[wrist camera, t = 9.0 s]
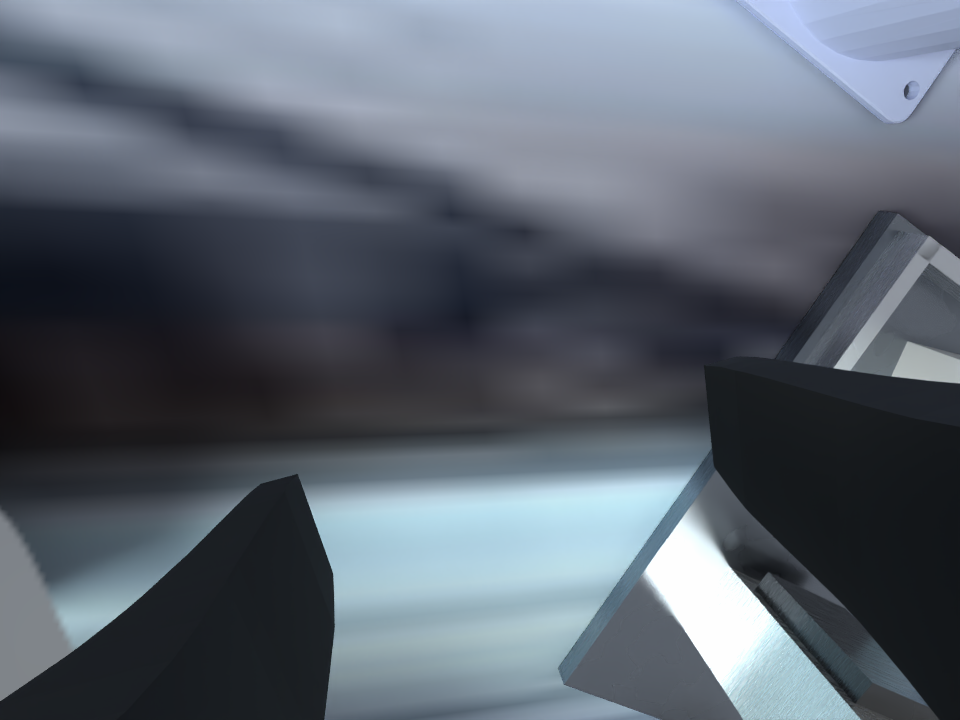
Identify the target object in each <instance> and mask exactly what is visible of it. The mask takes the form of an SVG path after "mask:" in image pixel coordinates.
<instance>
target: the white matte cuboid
mask: <svg viewBox="0 0 960 720" xmlns="http://www.w3.org/2000/svg"><path fill="white" fill-rule="evenodd" d="M892 377H901V378H910V379H919V380H927V381H937V382H949V383H960V355H959V354H955V353H951V352H947V351H943V350H940V349H936V348H932V347H928V346H924V345H920V344H916V343H912V342H909V341H907V344H906V346H905V348H904V350H903V352H902V354H901V356H900V359H899V361H898V363H897V365H896V367H895V369H894V371H893V374H892Z"/></svg>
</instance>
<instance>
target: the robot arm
mask: <svg viewBox="0 0 960 720" xmlns="http://www.w3.org/2000/svg"><path fill="white" fill-rule="evenodd" d="M735 1H737V2H738V3H739V4H740V5H741V6H743V7H744V8H745V9H746V10H748V11H749V12H750V13H751V14H752V15H754V16H755V17H756V18H757V19H758V20H760V21H761V22H762V23H763V24H765V25H766V26H767V27H768V28H769V29H771V30H772V31H773V32H774V33H775V34H777V35H778V36H779V37H780V38H782V39H783V40H784V41H785V42H786V43H788V44H789V45H790V46H791V47H792V48H794V49H795V50H796V51H797V52H799V53H800V54H801V55H802V56H803V57H805V58H806V59H807V60H808V61H809V62H811V63H812V64H813V65H814V66H815V67H817V68H818V69H819V70H820V71H822V72H823V73H824V74H825V75H826V76H828V77H829V78H830V79H831V80H832V81H834V82H835V83H836V84H837V85H839V86H840V87H841V88H842V89H843V90H845V91H846V92H847V93H848V94H849V95H851V96H852V97H853V98H854V99H856V100H857V101H858V102H859V103H860V104H862V105H863V106H864V107H865V108H866V109H868V110H869V111H870V112H871V113H873V114H874V115H875V116H876V117H877V118H879V119H880V120H881V121H882V122H885V123H887V124H889V123H901V122H903V121H905V120H906V119H907V118H908V117H909V116H910V115H911V114H912V112H913V111H914V109H915V108H916V106H917V105H918V104H919V102H920V101H921V99H922V98H923V96H924V95H925V93H926V92H927V90H928V89H929V88H930V86H931V85H932V83H933V82H934V80H935V79H936V77H937V76H938V75H939V73H940V72H941V70H942V69H943V67H944V66H945V64H946V63H947V61H948V60H949V59H950V57H951V56H952V54H953V53H954V51H955V50H956V48H960V0H735ZM907 84H908V86H909V93H908V95H907V97H906V98H905V96H904V88H905V86H906V85H907ZM704 369H705V380H706V390H707V401H708V411H709V422H710V432H711V442H712V453H713V463H714V467H715V469H716V470H717V472H718V473H719V474H720V476H721V477H722V479H723V480H724V481H725V483H726V484H727V485H728V487H729V488H730V490H731V491H732V492H733V493H734V495H735V496H736V497H737V498H738V500H739V501H740V502H741V504H742V505H743V506H744V507H745V509H746V510H747V511H748V512H749V513H750V514H751V515H752V516H753V517H754V518H755V519H756V520H757V521H758V522H759V523H760V524H761V525H762V526H763V527H764V528H765V529H766V530H767V531H768V532H769V533H770V534H771V535H772V536H773V537H774V538H775V539H776V540H777V541H778V542H779V543H780V544H781V545H782V546H783V547H784V548H785V549H787V550H788V551H789V552H790V553H791V554H792V555H793V556H794V557H795V558H796V559H797V560H798V561H799V562H800V563H801V564H802V565H803V566H804V567H805V568H806V569H807V570H808V571H809V572H810V573H811V574H812V575H813V576H814V577H815V578H816V579H817V580H818V581H819V582H820V583H821V584H822V585H824V586H825V587H826V588H827V589H828V590H829V591H830V592H831V593H832V594H833V595H834V596H835V597H836V598H837V599H838V600H839V601H840V602H841V603H842V604H843V605H844V606H845V607H846V608H847V610H848V611H849V612H850V613H851V614H852V615H853V616H854V617H855V618H856V619H857V620H858V621H859V622H860V623H861V624H862V626H863V627H864V628H865V629H866V630H867V632H868V633H869V634H870V635H871V636H872V638H873V639H874V640H875V641H876V642H877V644H878V645H879V646H880V647H881V648H882V649H883V651H884V652H885V653H886V654H887V655H888V657H889V658H890V659H891V660H892V661H893V663H894V664H895V665H896V666H897V667H898V669H899V670H900V671H901V672H902V673H903V675H904V676H905V677H906V678H907V679H908V681H909V682H910V683H911V685H912V686H913V687H914V688H915V690H916V691H917V692H918V693H919V695H920V696H921V697H922V698H923V700H924V701H925V702H926V704H927V705H928V706H929V707H930V709H931V710H932V711H933V712H934V714H935V715H936V716H937V717H938V719H939V720H960V383H949V382H937V381H927V380H919V379H910V378H901V377H892V376H884V375H877V374H870V373H862V372H856V371H849V370H842V369H836V368H829V367H823V366H816V365H810V364H803V363H797V362H790V361H783V360H776V359H768V358H758V357H734V358H730V359H727V360H723V361H719V362H715V363H712V364H708V365H704ZM334 627H335V624H334V583H333V572H332V569H331V566H330V563H329V561H328V558H327V555H326V552H325V549H324V547H323V544H322V541H321V538H320V535H319V533H318V530H317V527H316V524H315V521H314V519H313V516H312V513H311V510H310V507H309V505H308V502H307V499H306V496H305V493H304V491H303V488H302V485H301V482H300V479H299V476H298V474H296V475H292V476H288V477H285V478H281V479H277V480H273V481H270V482H266V483H262V484H260V485H259V486H258V487H256V488H255V489H254V490H253V491H251V492H250V493H249V494H248V495H247V496H246V497H245V498H244V499H243V500H242V501H241V502H240V503H239V504H238V505H237V506H236V507H235V508H234V509H233V510H232V511H231V512H230V513H229V514H228V515H227V516H226V517H225V518H224V519H223V520H222V521H221V522H220V523H219V524H218V525H217V526H216V527H215V528H214V529H213V530H212V531H211V532H210V533H209V534H208V535H207V536H206V537H205V538H204V539H203V540H202V541H201V542H200V543H199V544H198V545H197V546H196V547H195V548H194V549H193V550H192V551H191V552H190V553H189V554H188V555H186V556H185V557H184V558H183V559H182V560H181V561H180V562H179V563H178V564H177V565H176V566H174V567H173V568H172V569H171V570H170V571H169V572H168V573H167V574H166V575H165V576H164V577H163V578H161V579H160V580H159V581H158V582H157V583H156V584H155V585H154V586H153V587H152V588H151V589H149V590H148V591H147V592H146V593H145V594H144V595H143V596H142V597H141V598H139V599H138V600H137V601H136V602H135V603H134V604H132V605H131V606H130V607H129V608H128V609H126V610H125V611H124V612H123V613H122V614H120V615H119V616H118V617H117V618H116V619H114V620H113V621H112V622H111V623H109V624H108V625H107V626H105V627H104V628H103V629H102V630H100V631H99V632H98V633H96V634H95V635H94V636H92V637H91V638H90V639H89V640H87V641H86V642H85V643H83V644H82V645H81V646H80V647H78V648H77V649H75V650H74V651H73V652H71V653H70V654H69V655H67V656H66V657H65V658H63V659H62V660H60V661H59V662H57V663H56V664H54V665H53V666H51V667H50V668H48V669H47V670H46V671H44V672H43V673H41V674H40V675H38V676H37V677H35V678H34V679H32V680H31V681H29V682H28V683H27V684H25V685H24V686H22V687H21V688H19V689H18V690H16V691H15V692H13V693H12V694H10V695H9V696H8V697H6V698H5V699H3V700H2V701H0V720H324V716H325V708H326V699H327V691H328V683H329V674H330V665H331V656H332V647H333V638H334Z"/></svg>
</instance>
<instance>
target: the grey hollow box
mask: <svg viewBox="0 0 960 720" xmlns="http://www.w3.org/2000/svg"><path fill="white" fill-rule="evenodd" d="M907 341H909V342H912V343H916V344H920V345H924V346H928V347H932V348H936V349H940V350H943V351H947V352H951V353H955V354H959V355H960V259H959V258H958V257H956V256H955V255H954V254H952V253H951V252H950V251H948V250H947V249H946V248H945V247H943V246H942V245H941V244H939V243H938V242H937V241H935V240H934V239H933V238H932V237H930V236H928V235H925V234H924V233H923V232H921V231H920V230H919V229H918V228H916V227H915V226H914V225H912V224H911V223H910V222H908V221H907V220H906V219H905V218H903V217H902V216H901V215H899V214H898V213H891V212H883V211H879V212H878V213H877V214H876V216H875V217H874V219H873V220H872V222H871V223H870V224H869V226H868V227H867V229H866V230H865V232H864V233H863V234H862V236H861V237H860V239H859V240H858V242H857V243H856V244H855V246H854V247H853V249H852V250H851V252H850V253H849V254H848V256H847V257H846V259H845V260H844V261H843V263H842V264H841V266H840V267H839V269H838V270H837V271H836V273H835V274H834V276H833V277H832V279H831V280H830V281H829V283H828V284H827V286H826V287H825V289H824V290H823V291H822V293H821V294H820V296H819V297H818V299H817V300H816V301H815V303H814V304H813V306H812V307H811V309H810V310H809V311H808V313H807V314H806V316H805V317H804V319H803V320H802V321H801V323H800V324H799V326H798V327H797V329H796V330H795V331H794V333H793V334H792V336H791V337H790V339H789V340H788V341H787V343H786V344H785V346H784V347H783V348H782V350H781V351H780V353H779V354H778V356H777V357H776V358H775V359H776V360H783V361H790V362H797V363H803V364H810V365H816V366H823V367H829V368H836V369H842V370H849V371H856V372H862V373H870V374H877V375H884V376H892V374H893V371H894V369H895V367H896V365H897V363H898V361H899V359H900V356H901V354H902V352H903V350H904V348H905V346H906V344H907ZM558 669H559V672H560V675H561V678H562V680H563V683H564V685H566V686H569V687H572V688H575V689H578V690H580V691H583V692H586V693H589V694H592V695H594V696H597V697H600V698H603V699H606V700H608V701H611V702H614V703H617V704H620V705H622V706H625V707H628V708H631V709H634V710H636V711H639V712H642V713H645V714H648V715H650V716H653V717H656V718H659V719H662V720H939V719H938V717H937V716H936V715H935V714H934V712H933V711H932V710H931V709H930V707H929V706H928V705H927V704H926V702H925V701H924V700H923V698H922V697H921V696H920V695H919V693H918V692H917V691H916V690H915V688H914V687H913V686H912V685H911V683H910V682H909V681H908V679H907V678H906V677H905V676H904V675H903V673H902V672H901V671H900V670H899V669H898V667H897V666H896V665H895V664H894V663H893V661H892V660H891V659H890V658H889V657H888V655H887V654H886V653H885V652H884V651H883V649H882V648H881V647H880V646H879V645H878V644H877V642H876V641H875V640H874V639H873V638H872V636H871V635H870V634H869V633H868V632H867V630H866V629H865V628H864V627H863V626H862V624H861V623H860V622H859V621H858V620H857V619H856V618H855V617H854V616H853V615H852V614H851V613H850V612H849V611H848V610H847V608H846V607H845V606H844V605H843V604H842V603H841V602H840V601H839V600H838V599H837V598H836V597H835V596H834V595H833V594H832V593H831V592H830V591H829V590H828V589H827V588H826V587H825V586H824V585H822V584H821V583H820V582H819V581H818V580H817V579H816V578H815V577H814V576H813V575H812V574H811V573H810V572H809V571H808V570H807V569H806V568H805V567H804V566H803V565H802V564H801V563H800V562H799V561H798V560H797V559H796V558H795V557H794V556H793V555H792V554H791V553H790V552H789V551H788V550H787V549H785V548H784V547H783V546H782V545H781V544H780V543H779V542H778V541H777V540H776V539H775V538H774V537H773V536H772V535H771V534H770V533H769V532H768V531H767V530H766V529H765V528H764V527H763V526H762V525H761V524H760V523H759V522H758V521H757V520H756V519H755V518H754V517H753V516H752V515H751V514H750V513H749V512H748V511H747V510H746V509H745V507H744V506H743V505H742V504H741V502H740V501H739V500H738V498H737V497H736V496H735V495H734V493H733V492H732V491H731V490H730V488H729V487H728V485H727V484H726V483H725V481H724V480H723V479H722V477H721V476H720V474H719V473H718V472H717V470H716V469H715V467H714V463H713V453H712V450H711V451H710V453H709V454H708V455H707V457H706V458H705V460H704V461H703V463H702V464H701V465H700V467H699V468H698V470H697V471H696V473H695V474H694V475H693V477H692V478H691V480H690V481H689V483H688V484H687V485H686V487H685V488H684V490H683V491H682V493H681V494H680V495H679V497H678V498H677V500H676V501H675V503H674V504H673V505H672V507H671V508H670V510H669V511H668V512H667V514H666V515H665V517H664V518H663V520H662V521H661V522H660V524H659V525H658V527H657V528H656V530H655V531H654V532H653V534H652V535H651V537H650V538H649V540H648V541H647V542H646V544H645V545H644V547H643V548H642V550H641V551H640V552H639V554H638V555H637V557H636V558H635V560H634V561H633V562H632V564H631V565H630V567H629V568H628V570H627V571H626V572H625V574H624V575H623V577H622V578H621V580H620V581H619V582H618V584H617V585H616V587H615V588H614V590H613V591H612V592H611V594H610V595H609V597H608V598H607V599H606V601H605V602H604V604H603V605H602V607H601V608H600V609H599V611H598V612H597V614H596V615H595V617H594V618H593V619H592V621H591V622H590V624H589V625H588V627H587V628H586V629H585V631H584V632H583V634H582V635H581V637H580V638H579V639H578V641H577V642H576V644H575V645H574V647H573V648H572V649H571V651H570V652H569V654H568V655H567V657H566V658H565V659H564V661H563V662H562V664H561V665H560V667H559V668H558Z"/></svg>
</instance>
